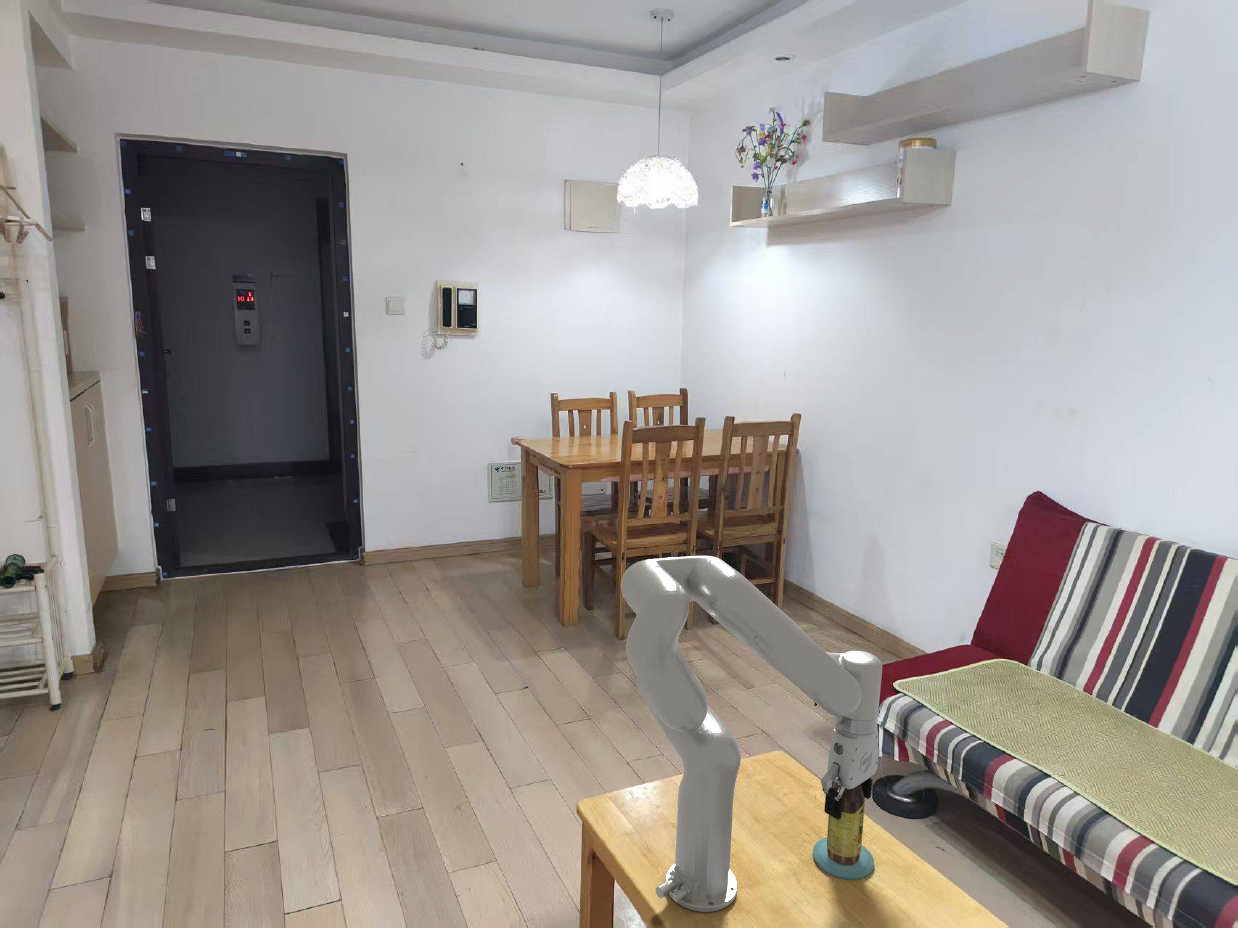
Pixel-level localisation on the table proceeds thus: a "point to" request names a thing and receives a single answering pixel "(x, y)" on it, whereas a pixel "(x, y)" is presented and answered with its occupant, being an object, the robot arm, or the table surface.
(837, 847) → the sauce bottle
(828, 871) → the coaster
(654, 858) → the table surface
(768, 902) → the table surface
